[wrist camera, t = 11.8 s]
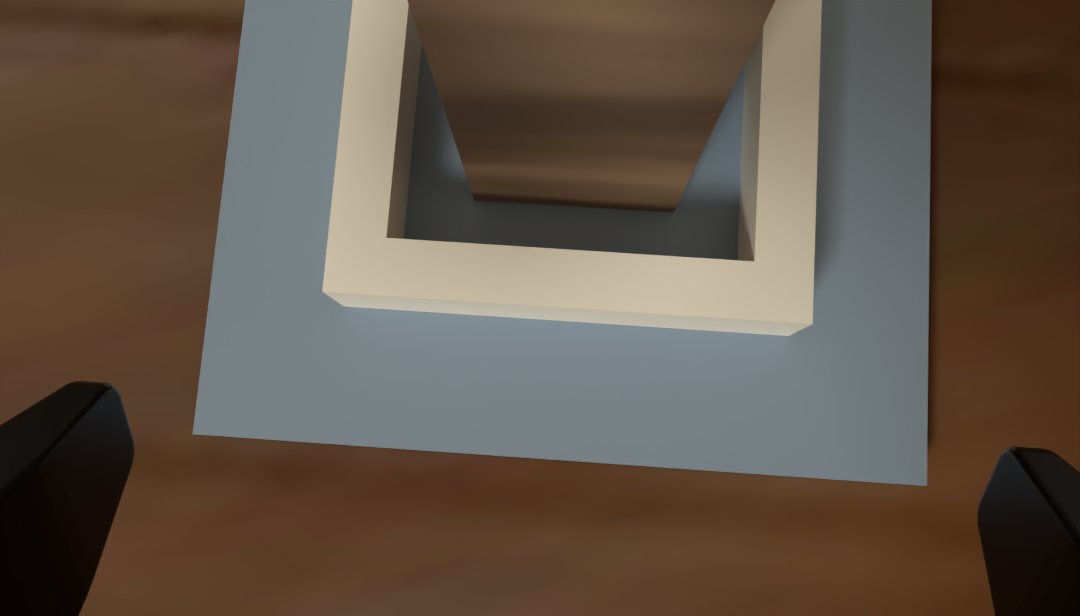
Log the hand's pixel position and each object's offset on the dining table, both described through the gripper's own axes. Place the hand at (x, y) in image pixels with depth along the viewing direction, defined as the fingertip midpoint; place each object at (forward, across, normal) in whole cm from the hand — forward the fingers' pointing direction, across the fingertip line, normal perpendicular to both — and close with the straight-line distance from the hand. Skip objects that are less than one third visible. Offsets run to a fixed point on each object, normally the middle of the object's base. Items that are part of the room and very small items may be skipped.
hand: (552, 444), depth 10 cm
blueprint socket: (+14, 0, +3) cm, 14 cm away
